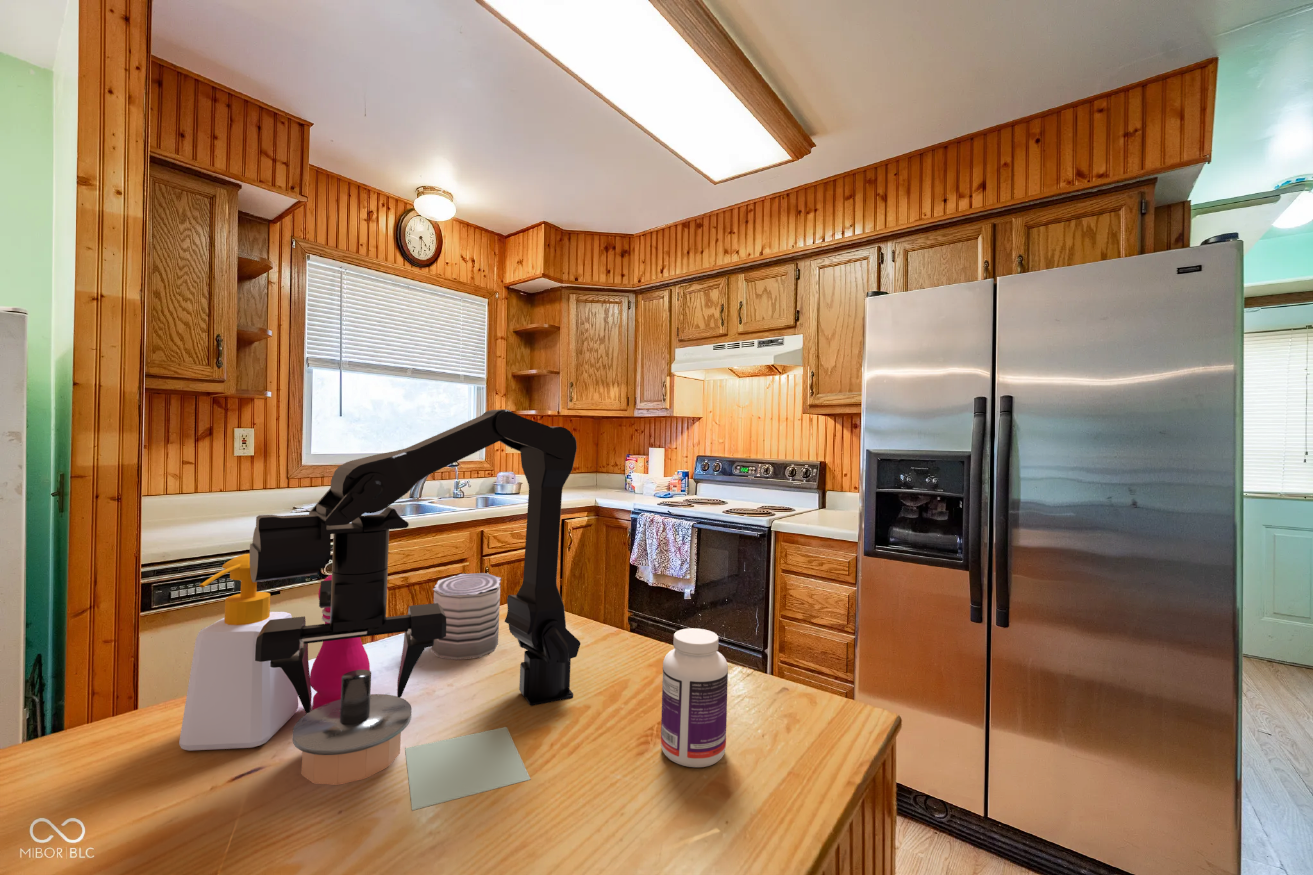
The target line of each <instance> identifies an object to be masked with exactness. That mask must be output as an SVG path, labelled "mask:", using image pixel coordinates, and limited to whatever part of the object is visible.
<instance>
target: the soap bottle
mask: <svg viewBox="0 0 1313 875" xmlns="http://www.w3.org/2000/svg"><path fill="white" fill-rule="evenodd" d="M222 569H223V570H221V571H219V572H216V573H215V574H214V575H212V576H211V577H209V578H207V579H206V580H205V581H203V582H202V583H200V584H198V586H199V587H200V588H205V587H207V586H208V585H210V584H211V583H213V582H214V581H215V580H217V579H219V578H220V577H222V576H224V575H226V574H228V573H229V579H230V580H232V581H240V593H237V594H233V595H231V596H230V595H229V596H227V597H226V598H225V599H224V617H223V618H220V619H219V620H217V621H214V622H213V623H212V624H209V625H207V626H206V627H205V626H204V627H203V628H201V629H200V630H199V631H198V634H197V636H196V637H195V643H194V649H193V654H192V661H191V666H190V667H191V668H190V673H189V681H188V685H187V692H186V699H185V703H184V704H185V705H184V712H183V717H182V723H181V730H180V734H179V735H180V736H179V742H178V745H179V746H180V748H181V749H182V750H185V751H205V750H207V751H208V750H225V749H226V750H227V749H228V750H230V749H247V748H248V749H249V748H255V747H258V746H262V745H263V744H266V743H268V741H269V740H270V739H271V738H273V736H274V735H275V734H276V733H278V732H279V730H280V729H281V728H282V727H283V726H284V725H285V724H286V723H288V721H290V719H291V718H292V717H294V715H295V714H296V712H297V710H298V709H299V697H298V694H297V692H296V690H295V688H294V686H293V684H292V683H291V681H290V680H289V678H288V677H287V675H286V674H285V673H284V671H283V670H282V668H280V667H277V668H272V667H270V662H271V661H264V662H259V661H255V650H256V641H257V637H258V635H259V633H260V631H261V630H262V628H263V626H264V625H265V624H266V623H267V622H268V621H269V620H274V619H284V618H293V616H292V614H291V613H289V612H286V611H271V593H270V592H266V591H257V584H258V582H252V579H251V573H250V553H244V554H241V555H238V556H235V557H233V558H232V559H230V560H228V561H226V562H225V563H224V564H222Z"/></svg>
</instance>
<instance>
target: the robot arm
mask: <svg viewBox="0 0 1313 875" xmlns="http://www.w3.org/2000/svg"><path fill="white" fill-rule="evenodd" d="M498 442H499V443H501V444H503V445H505V446H506V447H508V448H511V449H513V450H515V451H518V452H519V453H520V462H521V468H522V471H523V473H524V476H525V478H526V481H527V484H528V498H527V499H528V500H527V501H528V502H527V513H526V530H525V545H524V546H525V547H524V561H523V562H524V563H523V579H522V584H521V586H520V588H519V589H518V591H517V593H516V594H508V595H507V599H506V603H507V604H506V605H507V613H506V616H505V619H504V623H506V624H507V625H508V630H509V633H510V634H511V635H512V636H513V637H514V638H515V639H516V640H517V642H518V645H519V647H520V648H522V649H524V656H523V657H524V658H523V659H524V660H523V661H522V662H520V666H519V667H520V668H519V691H520V693H521V695H522V696H523V697H524V698H525V700H526V702H527V703H528V705H529V706H530V707H533V706H539V705H543V704H549V703H554V702H555V703H556V702H559V701H565V700H568V699H573V698H574V692H572V690H571V689H570V688H571V687H570V686H571V663H572V661H571V659H573V658H577V656H578V653H579V650H580V647H581V642H580V641H581V640H579V639H578V638H577V637H576V636H574V635H573V633H571V631H569V630H568V629H567V623H566V622H567V621H566V612H565V605H564V602H563V599H562V596H561V593H560V591H559V589H558V583H557V581H558V578H557V577H558V564H559V550H560V549H559V548H560V547H559V546H560V534H561V533H560V532H561V515H562V514H561V513H562V500H563V498H562V497H563V488H564V486H565V484H566V482H567V480H568V478H569V477H570V475H571V473H572V471H573V468H574V464H575V459H576V454H577V449H578V445H577V439H576V437H575V435H573V433H572V431H570V430H569V429H568V428H566V427H562V426H549V425H547V424H544V423H541V422H539V421H535V420H532V419H529V418H526V417H523V416H521V415H519V414H517V413H515V412H513V411H511V410H509V409H491V410H487V411H485V412H484V413H483V414H481V415H479V416H477V417H475V418H472V419H471V420H468V421H465V422H464V423H461V424H459V425H456V426H454V427H452V428H449V429H446V430H445V431H442V432H440V433H438V434H436V435H433V436H431V437H428V438H427V439H424V440H422V441H420V442H417V443H415V444H413V445H411V446H407V447H406V448H402V449H397V450H394V451H389V452H384V453H383V452H382V453H379V454H378V453H377V454H374V455H369V456H365V457H362V458H357V459H353V460H349V461H346V462H345V463H343V464H341V465H339V466H338V467H337V468H336V469H335V470H334V472H333V475H332V478H331V480H330V488H329V489H328V490H327V491H326V492H325V494H324V495H323V496H322V497H321V498H320V499H319V500H318V501H317V503H316V504H315V505H314V506H313V507H312V508H311V509H310V511H309V512H308V514H293V515H275V514H261V515H260V514H259V515H257V516H256V518H255V528H254V531H253V537H252V543H250V544H249V554H250V573H251V579H252V582H257V583H259V582H267V581H276V580H282V579H283V580H285V579H292V578H298V577H306V576H307V577H308V576H315V575H317V574H318V573H319V571H320V569H326V565H328V564H329V563H330V560H331V554H332V560H331V561H332V562H331V564H332V565H331V566H332V568H331V575H332V580H328V581H324V580H321V581H320V585H321V586H320V585H319V588H320V598H319V597H318V602H319V603H318V607H319V608H320V609H324V608H329V607H331V611H330V623H327V624H325V623H320V624H310V625H306V616H298V617H297V616H296V617H295V616H294V617H292V618H284V619H274V620H269V621H268V622H267V623H266V624H265V625H264V626H263V628H262V630H261V631H260V633H259V635H258V637H257V641H256V650H255V661H259V662H264V661H271V662H270V667H272V668H277V667H280V668H282V670H283V671H284V673H285V674H286V675H287V677H288V678H289V680H290V681H291V683H292V684H293V686H294V688H295V690H296V692H297V694H298V700H299V701H300V703H301V705H302V707H303V710H304V712H305V713H306V714H307V713H310V712H311V711H312V699H313V696H312V687H311V683H310V673H311V672H310V663H309V644H314V643H323V642H324V641H332V640H340V639H349V638H357V637H360V638H363V637H364V638H365V637H374V636H379V635H389V634H390V635H391V634H396V633H403V634H404V637H403V647H402V653H401V658H400V666H399V669H398V676H397V682H396V683H397V684H396V685H397V687H396V688H397V689H396V690H397V691H396V696H397V697H400V698H402V695H403V694H404V691H405V688H406V687H407V685H408V682H409V679H410V677H411V674H412V672H413V670H414V668H415V666H416V664H417V663H418V662H419V659H420V658H421V656H422V654H423V652H424V651H425V649H426V648H430V647H431V648H432V646H433V645H434V639H442V638H444V637H446V615H445V613H444V610H443V608H442V607H441V606H440V605H439V604H438V603H434V602H433V603H425V604H415V605H414V604H413V605H409V606H408V610H407V611H408V612H407V614H404V615H394V616H392V615H391V616H387V602H388V601H387V600H388V599H387V597H388V574H389V571H388V570H389V547H390V546H389V545H390V544H389V543H390V542H389V540H390V530H398V529H399V530H400V529H407V528H408V527H409V525H410V524H409V522H408V521H406V520H405V519H404V518H402V516H401V515H399V513H398V512H397V510H396V509H395V508H392V507H391V505H392V504H394V503H395V502H397V501H398V500H400V498H402V497H403V496H405V495H407V494H408V493H409V492H410V491H411V490H412V489H413V488H414V487H415V486H416V485H417V484H418V483H419V482H420V481H422V480H423V479H425V477H427V476H429V475H432V474H433V473H435V472H438V471H440V470H443V469H444V468H446V467H448V466H450V465H452V464H455V463H456V462H459V461H460V460H463V459H465V458H467V457H469V456H471V455H473V454H475V453H477V452H479V451H481V450H483V449H486V448H488V447H489V446H492V445H494V444H496V443H498ZM380 511H382V512H381V513H379V514H375V513H378V512H380ZM332 535H333V537H332V538H333V539H332V540H331V536H332ZM331 541H332V542H333V543H331Z"/></svg>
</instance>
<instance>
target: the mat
mask: <svg viewBox="0 0 1313 875" xmlns="http://www.w3.org/2000/svg"><path fill="white" fill-rule="evenodd" d="M404 750H405V751H404V752H405V759H406V766H407V768H406V769H407V776H408V784H409V785H408V786H409V796H410V803H411V811H412V812H413V811H416V810H420V809H425V808H429V807H431V806H436V805H440V804H443V803H447V802H450V801H451V802H452V801H454V800H458V799H463V798H466V797H469V796H473V795H478V794H483V793H485V792H489V791H494V790H496V789H500V788H505V787H508V786H512V785H515V784H519V783H523V782H528V781H531V777H530V775H529V773H528V771H527V769H526V766H525V763H524V761H523V759H522V757H521V755H520V752H519V751H518V749H517V747H516V744H515V743H514V740H513V738H512V736H511V733H510V731H509V729H508V727H507V726H504V727H498V728H495V729H490V730H486V731H485V730H484V731H481V732H475V733H472V734H466V735H462V736H461V735H460V736H457V737H453V738H447V739H444V740H443V739H442V740H437V741H433V742H428V743H424V744H417V745H414V746H409V747H405V748H404Z"/></svg>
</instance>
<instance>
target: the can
mask: <svg viewBox="0 0 1313 875" xmlns="http://www.w3.org/2000/svg"><path fill="white" fill-rule="evenodd" d="M501 581H502V577H500V576H497V575H496V576H495V575H494V574H490V573H488V572H486V573H485V572H479V573H474V572H473V573H459V574H456V575H454V576H453V575H452V576H450V577H446V578H442V579H439V580H437V582H436V583H435V585H434V587H433V588H432V590H433V603H438V604H439V605H440V606H441V607H442V608H443V610H444V613H445V615H446V637H444V638H442V639H434V645H433V646H431V652H433V654H434V655H436V656H437V658H441V659H447V660H453V661H461V660H469V659H470V660H471V659H477V658H481V657H483V656H486V655H489V654H491V653H493V652H495V651H496V649H497V647H498V645H499V630H500V629H499V628H500V627H499V626H500V602H501Z"/></svg>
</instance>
